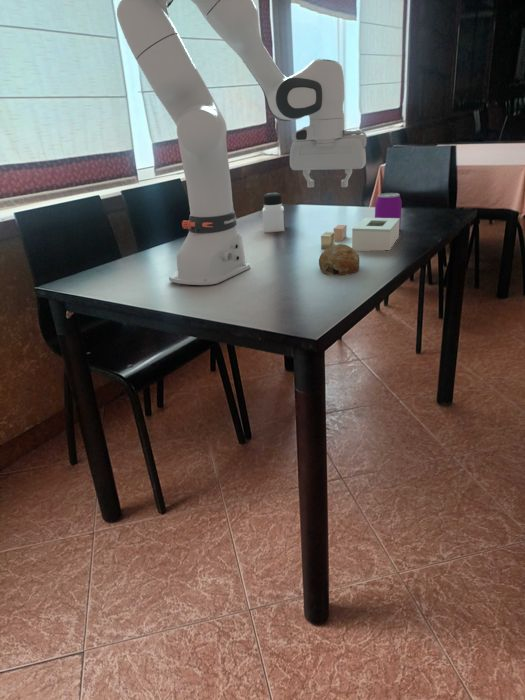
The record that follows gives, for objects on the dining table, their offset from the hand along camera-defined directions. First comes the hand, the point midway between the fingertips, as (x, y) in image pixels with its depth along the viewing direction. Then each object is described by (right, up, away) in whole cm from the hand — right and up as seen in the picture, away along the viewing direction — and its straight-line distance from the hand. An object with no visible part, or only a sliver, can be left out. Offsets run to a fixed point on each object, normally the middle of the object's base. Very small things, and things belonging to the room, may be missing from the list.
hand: (327, 187), depth 133 cm
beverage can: (+21, -9, +18) cm, 29 cm away
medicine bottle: (-14, -3, +35) cm, 38 cm away
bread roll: (+2, -25, -11) cm, 27 cm away
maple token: (+1, -15, +8) cm, 17 cm away
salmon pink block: (+6, -12, +14) cm, 19 cm away
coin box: (+14, -16, +5) cm, 22 cm away
